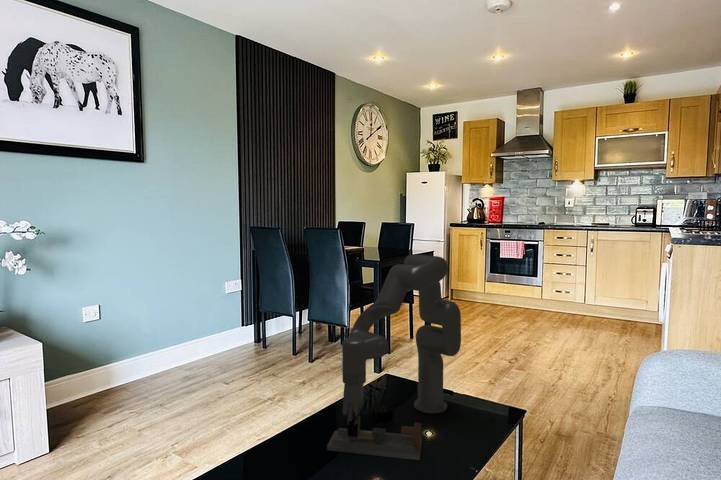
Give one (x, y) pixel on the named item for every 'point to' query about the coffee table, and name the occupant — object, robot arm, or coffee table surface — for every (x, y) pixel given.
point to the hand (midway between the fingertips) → (354, 431)
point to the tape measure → (382, 413)
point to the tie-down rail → (381, 443)
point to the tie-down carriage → (367, 433)
